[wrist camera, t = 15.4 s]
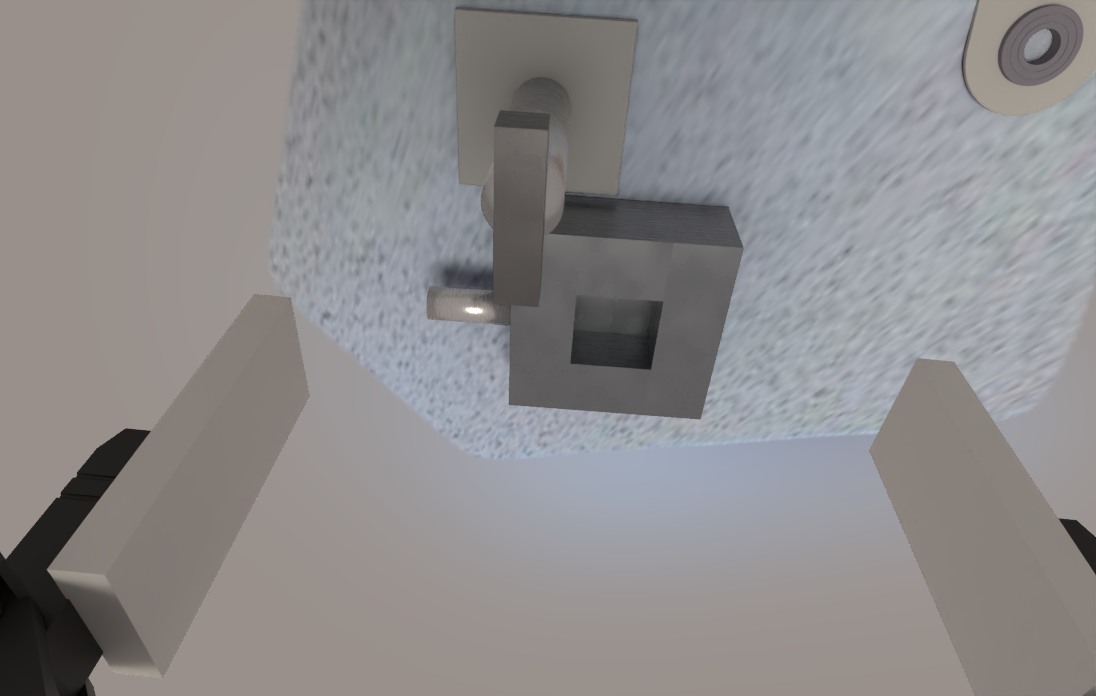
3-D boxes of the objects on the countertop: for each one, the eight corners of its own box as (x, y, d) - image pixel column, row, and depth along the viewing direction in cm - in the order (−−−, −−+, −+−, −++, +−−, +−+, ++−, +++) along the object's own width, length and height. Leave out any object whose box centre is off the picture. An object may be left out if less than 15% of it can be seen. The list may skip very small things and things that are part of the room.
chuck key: (567, 174, 38) (556, 308, 27) (510, 170, 38) (475, 302, 27) (576, 39, 33) (568, 131, 22) (512, 35, 34) (472, 125, 22)
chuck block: (435, 186, 39) (417, 224, 35) (728, 207, 39) (743, 247, 35) (443, 351, 46) (429, 398, 42) (691, 369, 46) (700, 419, 42)
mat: (456, 7, 33) (454, 9, 33) (637, 19, 33) (637, 22, 33) (460, 179, 39) (459, 183, 38) (616, 190, 39) (617, 195, 38)
